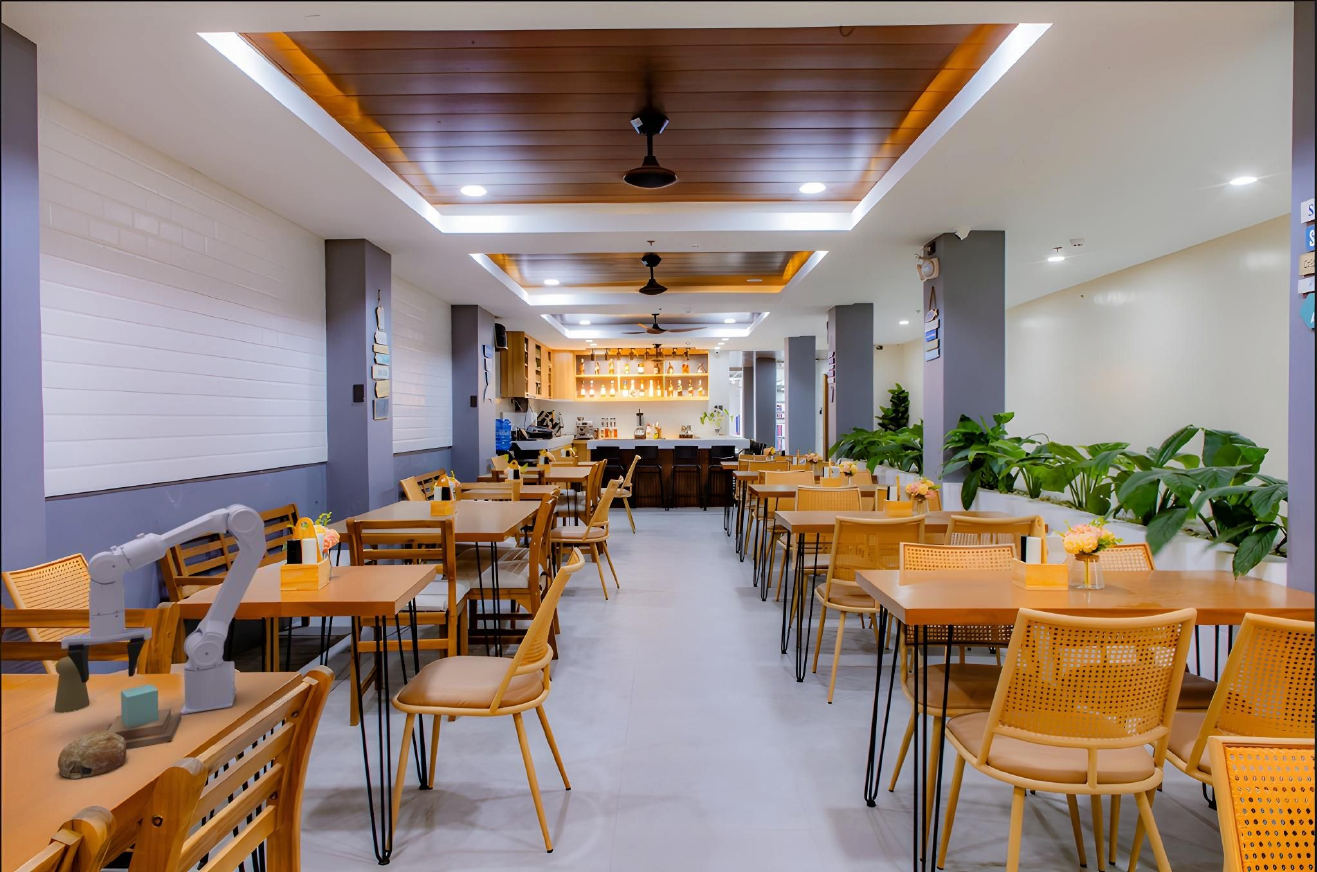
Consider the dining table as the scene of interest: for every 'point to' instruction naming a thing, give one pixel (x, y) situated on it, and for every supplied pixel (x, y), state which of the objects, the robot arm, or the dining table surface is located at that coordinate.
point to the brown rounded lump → (92, 754)
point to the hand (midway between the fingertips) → (108, 678)
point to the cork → (70, 688)
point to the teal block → (139, 705)
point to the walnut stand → (148, 730)
